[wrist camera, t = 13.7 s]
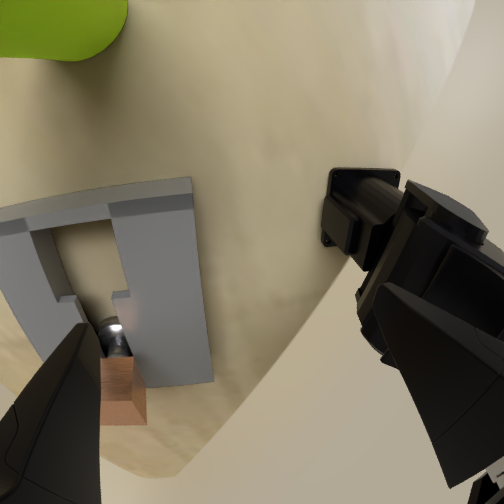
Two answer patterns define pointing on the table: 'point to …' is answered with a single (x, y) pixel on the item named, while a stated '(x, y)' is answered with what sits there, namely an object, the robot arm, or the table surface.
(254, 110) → the table surface
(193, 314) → the keyhole plate
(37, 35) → the soap dispenser
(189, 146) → the table surface
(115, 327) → the key peg
